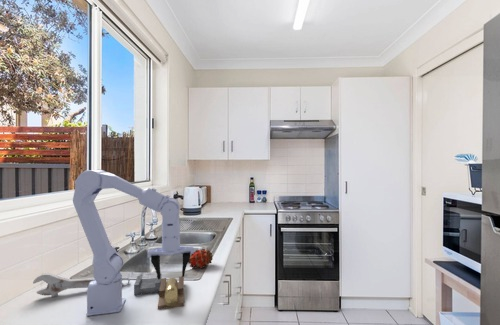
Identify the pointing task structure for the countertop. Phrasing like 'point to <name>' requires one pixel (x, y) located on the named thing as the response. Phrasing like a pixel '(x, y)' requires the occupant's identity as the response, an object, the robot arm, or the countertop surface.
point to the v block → (147, 285)
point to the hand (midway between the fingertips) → (171, 276)
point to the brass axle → (171, 292)
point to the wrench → (63, 283)
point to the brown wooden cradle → (162, 294)
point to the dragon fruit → (200, 258)
